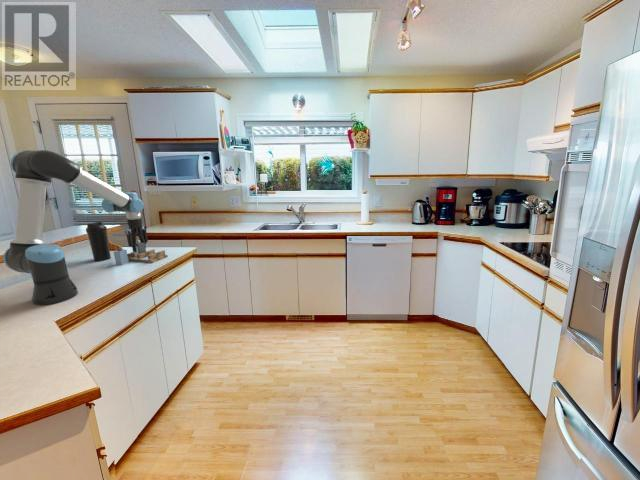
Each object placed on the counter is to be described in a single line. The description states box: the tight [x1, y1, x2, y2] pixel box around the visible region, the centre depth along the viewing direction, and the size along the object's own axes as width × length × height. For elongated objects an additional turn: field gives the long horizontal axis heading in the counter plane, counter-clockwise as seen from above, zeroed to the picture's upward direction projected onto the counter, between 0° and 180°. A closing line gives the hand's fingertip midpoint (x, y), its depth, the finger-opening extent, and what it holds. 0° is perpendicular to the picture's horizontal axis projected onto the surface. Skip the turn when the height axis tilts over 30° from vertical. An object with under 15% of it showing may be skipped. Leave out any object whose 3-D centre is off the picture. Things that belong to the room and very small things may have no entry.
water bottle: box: [85, 221, 112, 262], centre depth 182 cm, size 10×10×23 cm
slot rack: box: [127, 249, 169, 264], centre depth 184 cm, size 12×20×4 cm, turn 75°
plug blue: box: [113, 246, 130, 266], centre depth 175 cm, size 4×4×10 cm
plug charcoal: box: [136, 239, 147, 254], centre depth 183 cm, size 4×4×10 cm
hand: (140, 255), depth 185 cm, fingers closed on plug charcoal, 4 cm apart
